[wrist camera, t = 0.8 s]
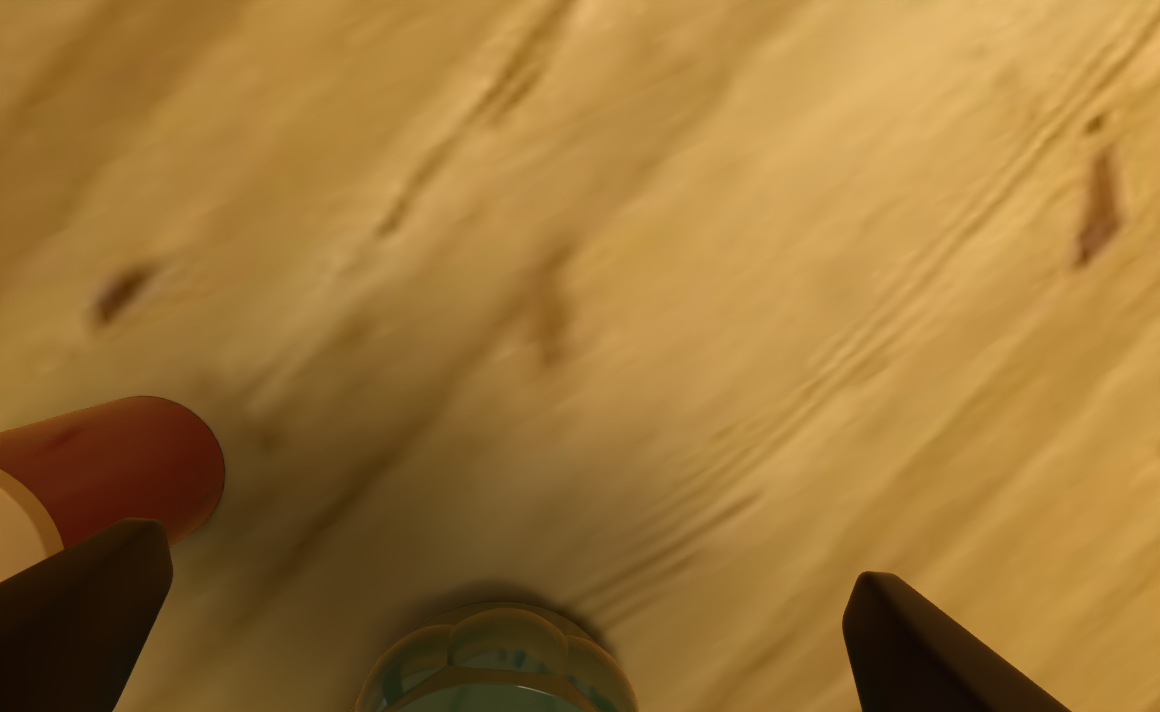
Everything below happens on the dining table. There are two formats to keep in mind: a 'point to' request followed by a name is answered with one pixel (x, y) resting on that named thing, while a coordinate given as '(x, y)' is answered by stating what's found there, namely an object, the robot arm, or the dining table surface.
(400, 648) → the lidded pot
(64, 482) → the tea canister
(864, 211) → the dining table surface
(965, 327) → the dining table surface
